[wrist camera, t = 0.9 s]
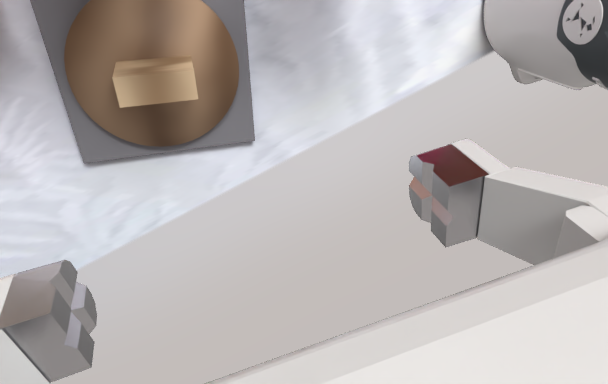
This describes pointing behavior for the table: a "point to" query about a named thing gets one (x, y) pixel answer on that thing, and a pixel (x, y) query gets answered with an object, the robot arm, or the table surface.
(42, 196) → the table surface
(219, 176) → the table surface
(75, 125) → the mat
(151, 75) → the lid
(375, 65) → the table surface
